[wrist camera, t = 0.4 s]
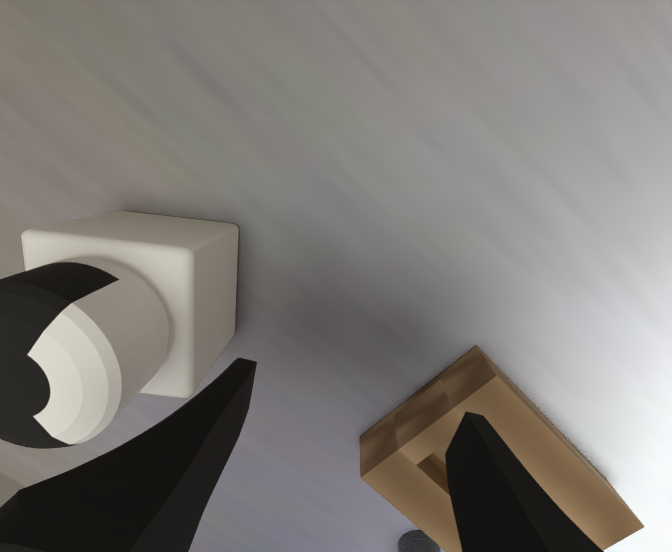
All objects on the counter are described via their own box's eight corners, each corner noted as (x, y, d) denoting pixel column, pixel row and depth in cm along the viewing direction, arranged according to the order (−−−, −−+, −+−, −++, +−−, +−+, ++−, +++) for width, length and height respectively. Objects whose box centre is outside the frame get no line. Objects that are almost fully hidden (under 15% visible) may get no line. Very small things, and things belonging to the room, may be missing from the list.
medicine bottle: (124, 321, 24) (-82, 464, 13) (119, 209, 22) (-133, 256, 11) (236, 335, 24) (130, 490, 13) (240, 223, 22) (118, 286, 11)
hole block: (489, 552, 28) (507, 604, 25) (359, 437, 26) (360, 477, 23) (607, 480, 26) (644, 526, 23) (476, 345, 24) (496, 375, 20)
